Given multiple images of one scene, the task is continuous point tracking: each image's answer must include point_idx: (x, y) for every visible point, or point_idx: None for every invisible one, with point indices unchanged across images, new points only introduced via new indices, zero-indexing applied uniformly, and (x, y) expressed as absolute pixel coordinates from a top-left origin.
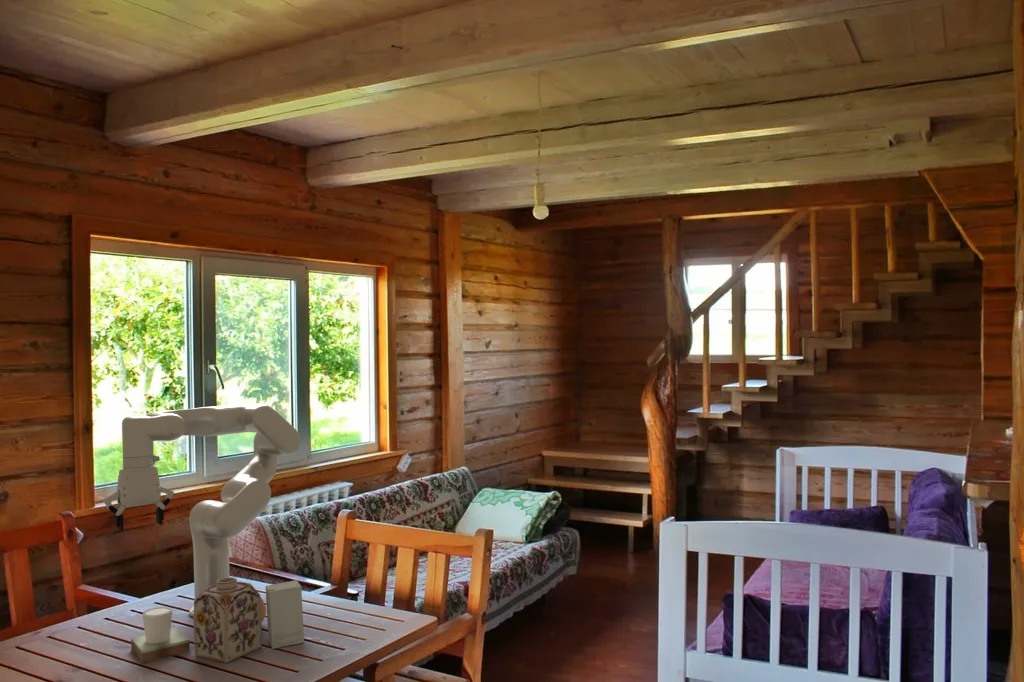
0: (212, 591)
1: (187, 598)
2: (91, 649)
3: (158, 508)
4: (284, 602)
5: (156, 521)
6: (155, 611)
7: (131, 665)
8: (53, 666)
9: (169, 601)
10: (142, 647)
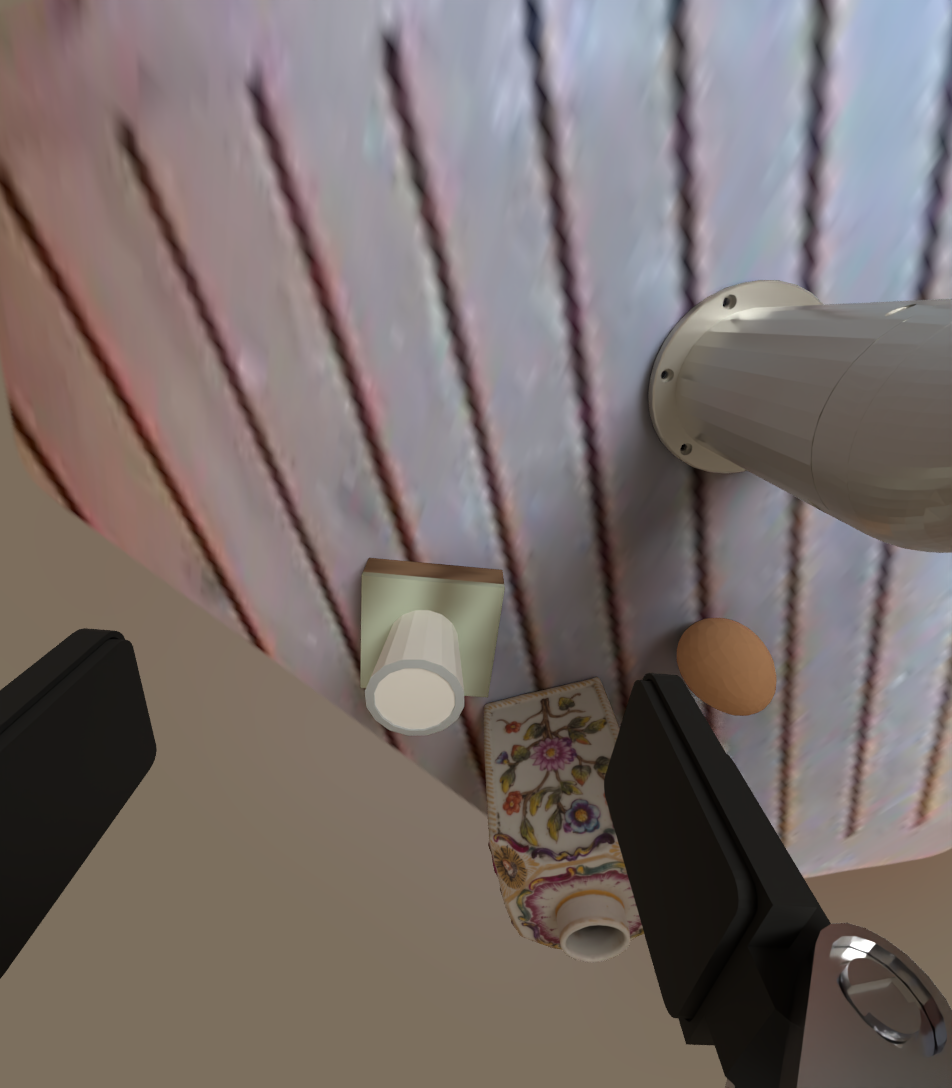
0: (533, 914)
1: (808, 47)
2: (267, 456)
3: (723, 1022)
4: None
5: (641, 695)
6: (410, 692)
7: (340, 657)
8: (150, 518)
9: (726, 15)
10: (367, 666)
